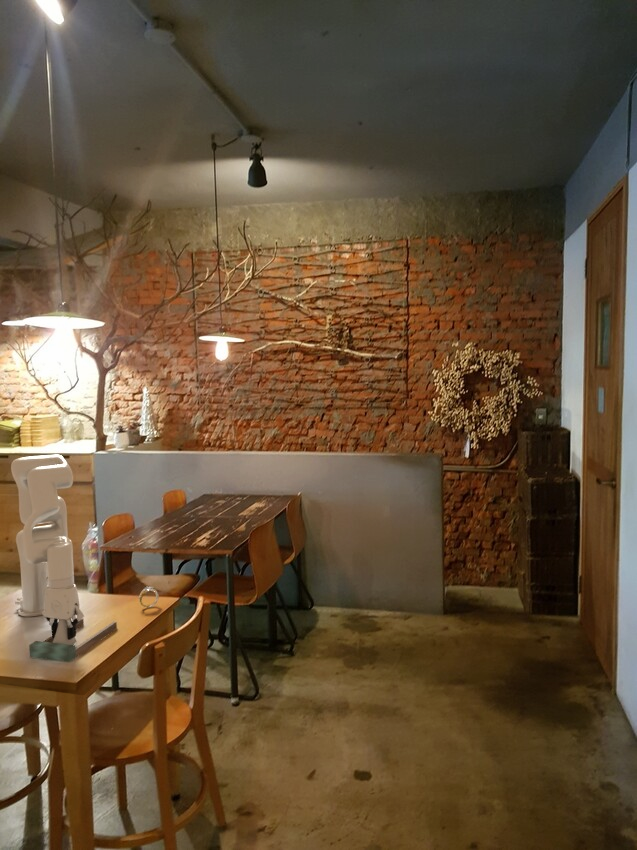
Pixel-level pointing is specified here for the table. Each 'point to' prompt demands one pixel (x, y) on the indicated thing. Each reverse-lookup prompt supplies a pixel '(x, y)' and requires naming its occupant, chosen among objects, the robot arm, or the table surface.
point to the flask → (63, 634)
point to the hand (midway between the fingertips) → (63, 636)
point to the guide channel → (67, 651)
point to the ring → (145, 593)
